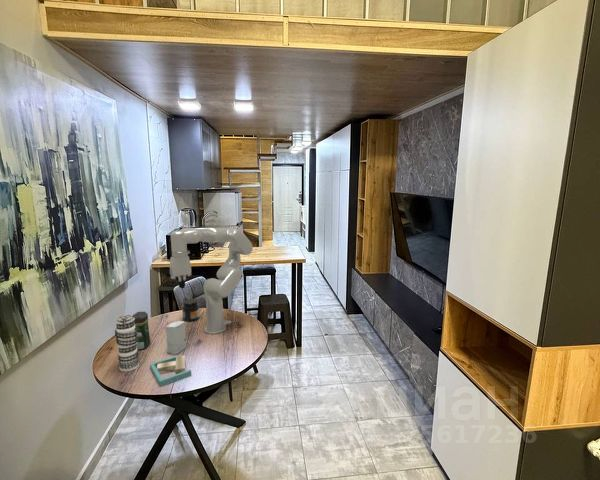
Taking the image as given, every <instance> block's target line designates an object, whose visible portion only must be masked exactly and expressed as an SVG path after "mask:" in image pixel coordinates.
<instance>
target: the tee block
mask: <svg viewBox="0 0 600 480" xmlns="http://www.w3.org/2000/svg"><path fill="white" fill-rule="evenodd" d="M176 356H177V355H176ZM157 370H158V372H159V373H160V375H161V374H166V373H167V374H168V373H172V372H175V375H176V374H179V373H181V372H184V371H186V357H185V354H184V355H180V356H177V357H176V361H172V362H166V363H160V364H158V365H157Z"/></svg>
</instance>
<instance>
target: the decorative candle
mask: <svg viewBox="0 0 600 480" xmlns="http://www.w3.org/2000/svg"><path fill="white" fill-rule="evenodd" d="M132 316H133V315H129V314H128V315H122V316H119V317H118V318H117V319H116V320H115V326H116V327H115V329H114V335H115V341H116V342H115V343H116V346H117V348H118V354H117V357H118V359H117V360H118V368H119V371H121V372H131V371H134V370H135V369H137V368H139V366H140V358H139V350H137V347H136V343H137V340H136V339H137V337H135V336H137V333H136V332H137V330H135V328H136V327H137V326H135V324H134V320H135V318H134V317H132Z"/></svg>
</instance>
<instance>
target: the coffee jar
mask: <svg viewBox="0 0 600 480" xmlns="http://www.w3.org/2000/svg"><path fill="white" fill-rule="evenodd" d="M131 316H132V317H134V318H135V320H134V324H135V326H137V327H136V328H135V330H137V332H136V333H137V336H135V337H137V339H136V340H137V343H136V347H137V350H138V351H141V350H144V349H147V348H148V347H149V345H150V343H151V338H150V329H149V315H148V312H146V311H137V312H136V313H134V314H132V315H131Z"/></svg>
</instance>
